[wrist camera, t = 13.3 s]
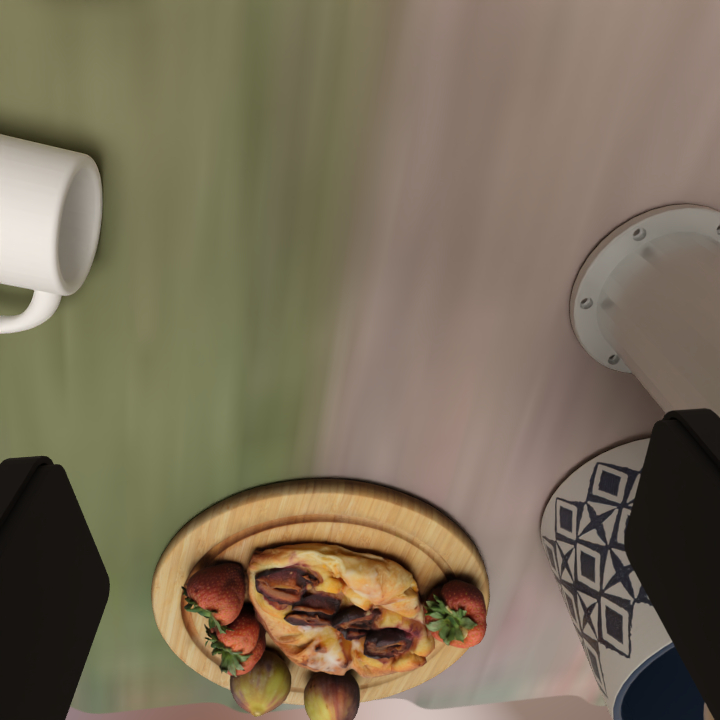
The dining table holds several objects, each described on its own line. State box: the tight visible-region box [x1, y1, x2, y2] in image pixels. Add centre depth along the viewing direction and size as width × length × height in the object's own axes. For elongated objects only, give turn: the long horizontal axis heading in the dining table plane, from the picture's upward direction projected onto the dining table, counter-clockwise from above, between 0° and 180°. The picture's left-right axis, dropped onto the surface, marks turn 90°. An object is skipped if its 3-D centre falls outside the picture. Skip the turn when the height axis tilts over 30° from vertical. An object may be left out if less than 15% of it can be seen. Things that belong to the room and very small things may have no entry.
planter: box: [541, 438, 704, 720], centre depth 47 cm, size 18×18×16 cm
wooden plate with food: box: [151, 479, 490, 720], centre depth 55 cm, size 32×32×8 cm
